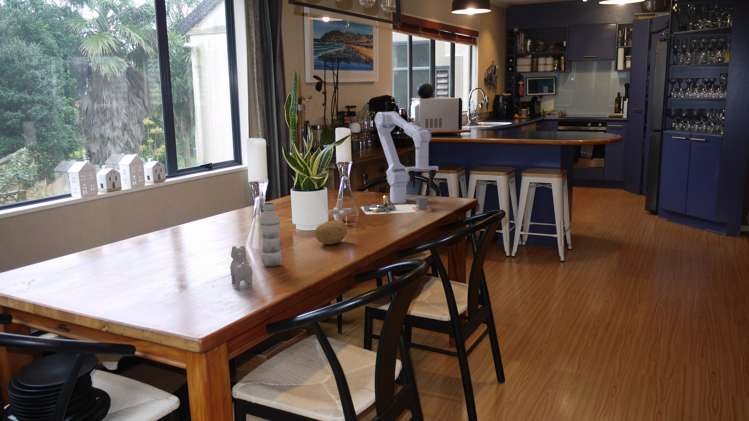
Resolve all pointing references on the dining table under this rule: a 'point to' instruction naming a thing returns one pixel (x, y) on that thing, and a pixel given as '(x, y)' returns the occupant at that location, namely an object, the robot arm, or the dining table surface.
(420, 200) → the grey rectangular block
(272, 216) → the grey tiered tower
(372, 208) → the sprocket
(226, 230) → the dining table surface
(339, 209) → the pipe connector
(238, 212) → the dining table surface
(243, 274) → the dog figurine
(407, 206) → the board
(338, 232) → the potato
